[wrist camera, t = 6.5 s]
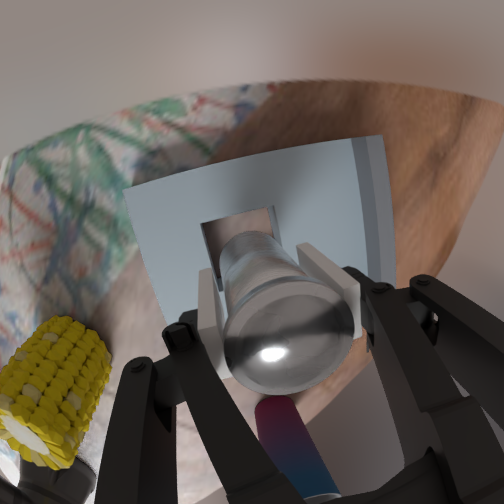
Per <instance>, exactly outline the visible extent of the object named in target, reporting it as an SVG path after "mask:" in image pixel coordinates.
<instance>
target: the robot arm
mask: <svg viewBox="0 0 504 504" xmlns="http://www.w3.org/2000/svg"><path fill="white" fill-rule="evenodd" d="M296 249H297V254H298V260H299V266H300V268H301V269H302V270H303V271H304V272H305V273H306V274H307V275H308V276H309V277H312V278H315V279H318V280H320V281H322V282H324V283H326V284H327V285H329V286H330V287H332V288H333V289H334V290H335V291H336V292H337V293H338V294H339V295H340V296H341V297H342V298H343V299H344V300H345V302H346V303H347V304H348V306H349V307H350V310H351V312H352V314H353V318H354V324H355V332H354V338H353V340H354V339H356V338H359V337H361V336H362V326H363V327H364V329H365V330H366V331H367V352H369V348H370V350H371V353H372V356H373V358H374V361H375V364H376V367H377V369H378V373H379V376H380V379H381V381H382V384H383V388H384V391H385V393H386V397H387V400H388V403H389V406H390V409H391V413H392V416H393V419H394V423H395V426H396V429H397V433H398V436H399V440H400V443H401V447H402V451H403V454H404V461H405V464H404V469H403V470H402V471H400V472H399V473H398V474H397V475H396V476H395V477H393V478H392V479H391V480H390V481H388V482H387V483H386V484H384V485H383V486H382V487H381V488H379V489H377V490H375V491H371V492H367V493H361V494H356V495H352V496H345V497H339V498H335V499H332V500H329V501H326V502H323V503H320V504H504V453H503V451H502V448H501V446H500V444H499V442H498V440H497V438H496V436H495V434H494V431H493V429H492V427H491V426H490V423H489V422H488V420H487V418H486V416H485V414H484V412H483V410H482V408H483V409H484V410H485V411H486V412H487V413H488V414H489V415H490V416H491V418H492V419H494V421H495V422H496V423H497V424H498V425H499V426H500V427H501V428H502V429H503V430H504V322H502V321H501V320H500V319H498V318H497V317H495V316H494V315H492V314H491V313H489V312H488V311H486V310H485V309H483V308H482V307H480V306H479V305H477V304H476V303H474V302H473V301H471V300H469V299H468V298H466V297H465V296H463V295H462V294H460V293H459V292H457V291H455V290H454V289H452V288H451V287H449V286H447V285H446V284H444V283H442V282H441V281H439V280H438V279H436V278H434V277H432V276H430V275H425V274H421V275H417V276H414V277H412V278H411V279H410V284H409V287H407V288H402V289H395V288H394V286H393V285H391V284H389V283H387V282H376V283H375V282H374V281H373V280H371V279H370V278H369V277H367V276H365V274H363V273H361V271H359V270H358V269H356V268H354V267H350V266H346V267H343V268H340V267H339V266H338V265H336V264H335V263H334V262H333V261H331V260H330V259H329V258H327V257H326V256H325V255H324V254H322V253H321V252H320V251H319V250H317V249H316V248H315V247H313V246H312V245H311V244H310V243H308V242H306V243H302V244H298V245H296ZM434 313H436V315H437V316H438V321H435V320H434ZM224 326H225V317H224V310H223V305H222V302H221V299H220V295H219V292H218V289H217V285H216V282H215V278H214V275H213V272H212V268H211V267H210V268H207V269H203V270H199V280H198V309H194V310H189V311H185V312H183V313H182V314H181V316H180V317H179V320H178V322H175V323H172V324H170V325H169V326H167V327H166V328H165V329H164V330H163V332H162V337H163V340H164V342H165V344H166V346H167V349H168V351H169V353H170V355H168V356H167V357H165V358H163V359H161V360H159V361H157V362H154V363H153V361H152V360H151V359H150V358H149V357H145V356H144V357H138V358H134V359H133V360H131V361H129V362H128V363H127V364H126V365H125V367H124V368H123V371H122V375H121V379H120V382H119V386H118V390H117V393H116V397H115V401H114V405H113V409H112V413H111V417H110V422H109V426H108V430H107V435H106V440H105V444H104V449H103V454H102V459H101V464H100V470H99V476H98V482H97V488H96V494H95V501H94V504H178V495H177V464H176V409H177V407H176V405H177V404H180V403H182V402H184V401H186V402H187V405H188V407H189V410H190V412H191V415H192V417H193V420H194V422H195V425H196V427H197V430H198V432H199V435H200V437H201V439H202V442H203V444H204V446H205V449H206V451H207V453H208V455H209V458H210V460H211V462H212V464H213V466H214V468H215V470H216V473H217V475H218V477H219V479H220V481H221V483H222V485H223V487H224V489H225V491H226V493H227V495H226V497H227V500H228V502H229V504H307V503H306V502H305V500H304V499H303V498H302V496H301V495H300V494H299V492H298V491H297V490H296V489H295V487H294V486H293V485H292V483H291V482H290V481H289V479H288V478H287V477H286V475H285V474H284V473H283V472H281V471H279V470H278V468H277V467H276V466H275V464H274V463H273V461H272V460H271V459H270V457H269V456H268V454H267V453H266V451H265V450H264V448H263V447H262V445H261V444H260V442H259V441H258V439H257V438H256V436H255V435H254V433H253V431H252V430H251V428H250V427H249V425H248V424H247V422H246V421H245V419H244V417H243V416H242V414H241V412H240V411H239V409H238V408H237V406H236V404H235V403H234V401H233V399H232V398H231V396H230V394H229V393H228V391H227V389H226V388H225V386H224V384H223V382H222V381H221V380H222V379H226V378H230V377H233V375H232V374H231V373H230V371H229V369H228V367H227V364H226V361H225V356H224V348H223V330H224ZM451 376H452V377H453V378H454V379H455V380H456V381H457V382H458V383H459V384H460V385H461V386H462V387H463V388H464V389H465V390H466V391H467V392H468V393H469V394H470V396H467V397H463V396H462V395H461V393H460V392H459V390H458V388H457V386H456V384H455V383H454V381H453V379H452V377H451ZM480 406H481V407H482V408H481V407H480ZM95 484H96V476H95V474H94V473H93V472H92V470H91V469H90V468H89V467H87V466H86V465H85V464H84V463H82V462H81V461H80V460H78V459H77V458H75V459H74V461H73V464H72V465H70V468H61V469H59V470H54V469H52V468H50V467H49V466H37V465H36V464H35V463H34V462H33V461H32V462H29V461H26V460H24V459H23V458H22V456H21V455H20V480H19V483H18V486H17V487H16V486H14V485H13V484H11V483H10V482H8V481H7V480H6V479H5V478H3V477H2V476H1V475H0V504H84V503H85V502H86V500H87V498H88V496H89V494H90V493H92V492H93V491H94V488H95Z"/></svg>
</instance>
